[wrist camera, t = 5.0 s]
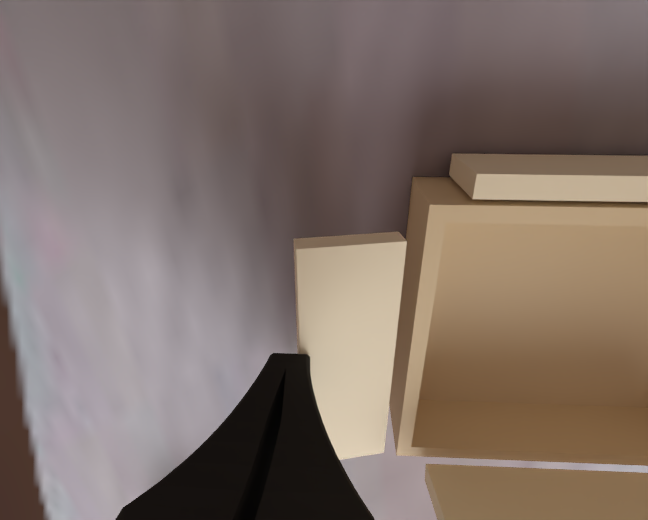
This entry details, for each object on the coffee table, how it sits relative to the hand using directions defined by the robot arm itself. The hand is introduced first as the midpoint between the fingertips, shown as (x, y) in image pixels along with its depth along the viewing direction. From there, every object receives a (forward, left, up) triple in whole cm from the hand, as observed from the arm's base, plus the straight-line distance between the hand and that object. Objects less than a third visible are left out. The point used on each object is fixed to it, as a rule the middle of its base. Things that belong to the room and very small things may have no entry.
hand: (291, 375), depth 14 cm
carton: (-12, 0, -5) cm, 13 cm away
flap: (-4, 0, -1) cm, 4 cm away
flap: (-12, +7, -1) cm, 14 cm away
